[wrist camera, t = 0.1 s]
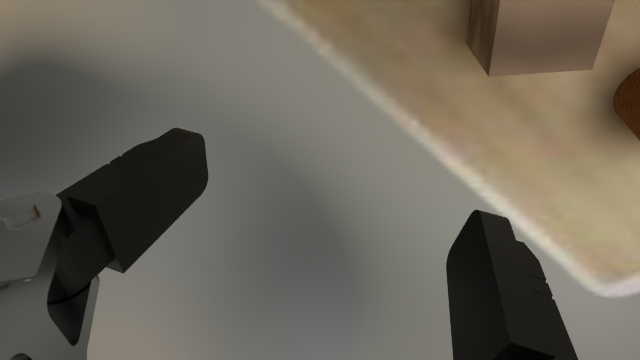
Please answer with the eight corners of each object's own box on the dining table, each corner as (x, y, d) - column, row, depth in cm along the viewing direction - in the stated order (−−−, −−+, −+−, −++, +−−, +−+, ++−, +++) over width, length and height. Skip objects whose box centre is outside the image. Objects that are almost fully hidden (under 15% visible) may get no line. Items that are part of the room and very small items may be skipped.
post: (474, -26, 28) (504, -26, 18) (551, -38, 26) (629, -45, 17) (466, 44, 31) (488, 76, 21) (534, 37, 29) (592, 69, 20)
